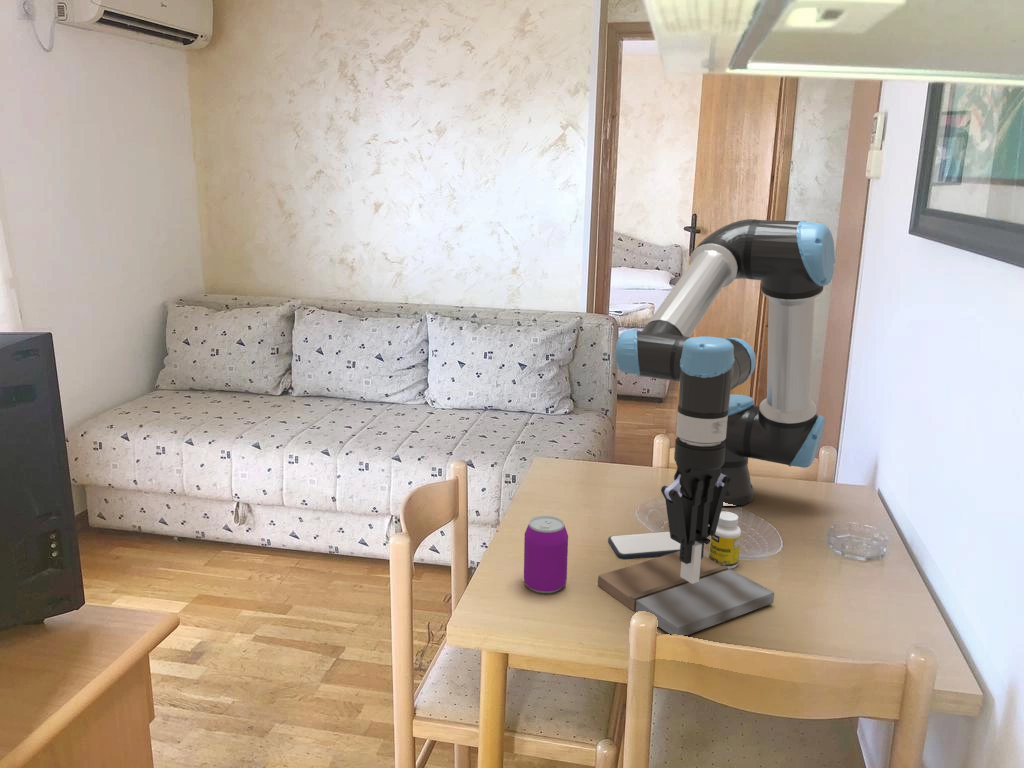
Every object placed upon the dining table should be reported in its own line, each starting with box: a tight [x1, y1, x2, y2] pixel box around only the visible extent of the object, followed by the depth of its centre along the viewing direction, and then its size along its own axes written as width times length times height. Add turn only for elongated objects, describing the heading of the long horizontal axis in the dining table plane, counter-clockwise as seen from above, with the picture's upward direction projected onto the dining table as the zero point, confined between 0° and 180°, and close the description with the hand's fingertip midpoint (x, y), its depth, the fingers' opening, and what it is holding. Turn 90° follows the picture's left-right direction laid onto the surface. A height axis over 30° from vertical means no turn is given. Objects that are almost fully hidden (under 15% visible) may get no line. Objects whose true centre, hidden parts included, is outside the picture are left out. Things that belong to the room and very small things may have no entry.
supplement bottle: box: [708, 511, 742, 570], centre depth 151 cm, size 5×5×10 cm
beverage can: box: [523, 515, 569, 594], centre depth 142 cm, size 8×8×12 cm
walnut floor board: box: [597, 551, 729, 612], centre depth 144 cm, size 22×10×2 cm, turn 121°
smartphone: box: [607, 530, 680, 560], centre depth 158 cm, size 9×2×16 cm
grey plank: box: [635, 569, 775, 636], centre depth 135 cm, size 22×10×2 cm, turn 121°
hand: (689, 579), depth 128 cm, fingers closed
